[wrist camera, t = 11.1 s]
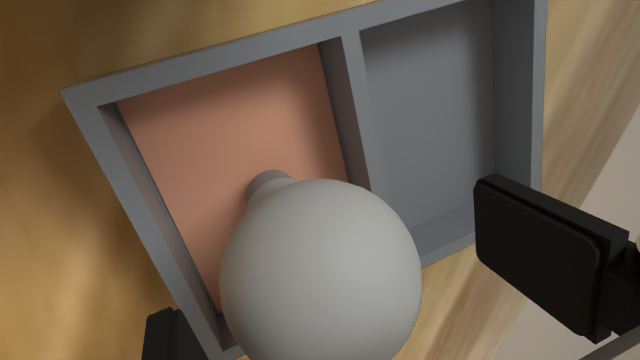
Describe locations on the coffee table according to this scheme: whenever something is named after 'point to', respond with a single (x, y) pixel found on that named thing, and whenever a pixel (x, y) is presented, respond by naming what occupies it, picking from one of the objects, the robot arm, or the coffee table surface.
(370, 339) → the lightbulb
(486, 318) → the coffee table surface
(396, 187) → the sorting tray
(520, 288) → the robot arm
